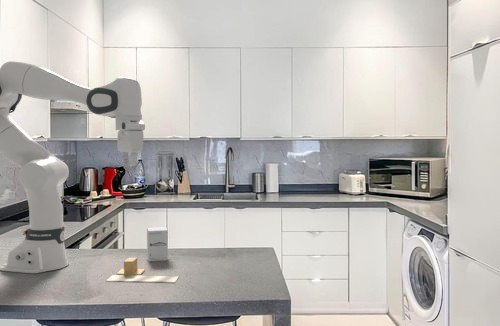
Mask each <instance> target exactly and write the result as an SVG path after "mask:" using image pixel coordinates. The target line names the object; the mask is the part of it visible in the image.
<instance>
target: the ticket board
mask: <svg viewBox="0 0 500 326" xmlns="http://www.w3.org/2000/svg"><path fill="white" fill-rule="evenodd" d="M179 278H180V275H156V274H155V275H151V274H150V275H149V274H145V275H143V274H141V275H116V274H112V275H110V277H108V278H107V279H106V280H105V282H112V283H113V282H114V283H115V282H116V283H154V284H155V283H156V284H157V283H158V284H160V283H161V284H163V283H164V284H175V283H176V282H177V280H178V279H179Z"/></svg>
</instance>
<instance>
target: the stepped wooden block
mask: <svg viewBox="0 0 500 326" xmlns="http://www.w3.org/2000/svg"><path fill="white" fill-rule="evenodd" d="M145 271H146V269H145V268H138V257H128V258H126V259H125V260H124V261H123V268H121V269H120V270H118V271H117V272H116V273H115V275H143V274H144V273H145Z"/></svg>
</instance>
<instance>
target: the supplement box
mask: <svg viewBox="0 0 500 326" xmlns="http://www.w3.org/2000/svg"><path fill="white" fill-rule="evenodd" d="M168 233H169V231H168V228H167V227H166V226H159V227H158V226H156V227H146V259H147V262H159V261H168V259H169V258H168V257H169V256H168V255H169V254H168V253H169V251H168V248H169V247H168V246H169V245H168V244H169V243H168V238H169V236H168V235H169V234H168Z"/></svg>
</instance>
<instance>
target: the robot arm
mask: <svg viewBox="0 0 500 326" xmlns="http://www.w3.org/2000/svg"><path fill="white" fill-rule="evenodd" d="M23 96H26V97H29V98H33V99H36V100H37V99H39V100H45V101H47V100H49V101H66V102H67V101H69V102H74V103H78V104H80V105H84V106H86V107H87V108H88V110H89V111H90V112H91V113H93V114H95V115H97V116H101V117H109V118H111V119H112V118H113V119H115V131H118V132H117V137H116V138H117V139H116V144H117V147H116V148H117V151H118V152H121V157H122V158H121V159H122V165H123V166H124V165H125V166H126V165H127V166H130V167H136V166H137V160H138V156H139V155H138V153H139V154H140V153H143V149H144V130H145V129H146V125H145V122H144V121H143V115H142V111H141V110H142V106H143V105H142V104H143V101H142V100H143V99H142V89H141V84H140V83H139V81H137V80H136V79H133V78H131V77H130V78H129V77H124V76H121V77H120V76H119V77H117V78H116V79H114V80H113V81H112V82H109V83H108V84H104V85H102V86H98V87H95V88H90V87H87V86H83V85H81V84H80V85H79V84H77V83H76V82H73V81H71V80H69V79H68V78H64V76H61V75H59V74H57V73H55V72H54V71H51V70H50V69H47V68H45V67H41V66H39V65H36V64H31V63H26V62H23V61H22V62H20V61H7V62H4V63H3V64H2V65H1V66H0V154H1V155H2V156H3V157H4V158H5V159H6V160H7V161H8V162H9V163H11V164H12V165H16V166H17V167H18V168H21V169H20V170H19V172H18V180H19V182H20V185H21V186H22V187H23V188H24V191H25V196H26V199H27V202H28V203H27V204H28V209H29V210H28V211H29V212H28V213H29V214H28V215H29V228H28V229H26V230H24V231H23V232H22V235H23V236H25V237H24V239H23V240H22V241H21V242H19V243H18V244H17V245H15V246H14V247H12V248H11V250H10V251H9V252H8V256H7V262H5V263H3V264H2V265H0V271H3V272H11V273H12V272H13V273H24V274H40V273H43V272H49V271H56V270H59V269H63V268H65V267H67V266H69V261H68V258H67V257H68V256H67V253H66V247H65V241H66V239H65V238H66V232H65V226H64V205H63V203H62V202H61V199H60V196H59V192H58V191H59V190H58V187H60V186H61V185H63V184H64V183H65V182H66V181H67V180H68V178H69V175H70V174H69V173H70V170H69V166H68V165H67V163H65V162H64V161H63V160H62V159H59V158H58V157H57V156H55V155H54V154H53V153H51V151H49V150H48V149H46V148H45V147H44V146H42V145H41V144H39V143H38V142H37V141H36V140H35V139H33V137H31V136H30V134H29V133H27V132H26V130H24V129H23V128H22V127H21V126H20V125H19V124H18V123H17V122H16V121H15V120H14V119H13V118H12V117H11V115H10V114H11V113H13V112H15V110H16V108H17V106H18V105H19V104H20V102H21V100H22V97H23ZM129 154H130V159H129ZM129 160H130V161H129Z"/></svg>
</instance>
